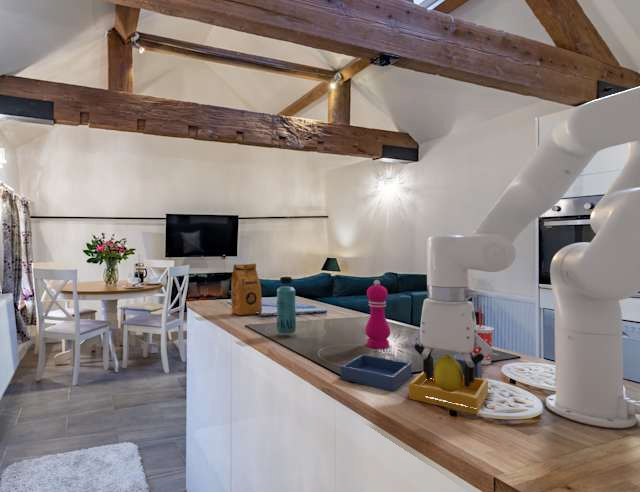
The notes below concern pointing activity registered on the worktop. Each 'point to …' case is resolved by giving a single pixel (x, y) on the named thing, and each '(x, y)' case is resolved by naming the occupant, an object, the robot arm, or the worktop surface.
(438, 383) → the lemon
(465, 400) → the mustard tray
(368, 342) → the pepper mill
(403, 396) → the worktop surface
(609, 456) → the worktop surface
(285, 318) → the beverage bottle
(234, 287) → the coffee package
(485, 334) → the beverage cup
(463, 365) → the navy block
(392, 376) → the blue tray
